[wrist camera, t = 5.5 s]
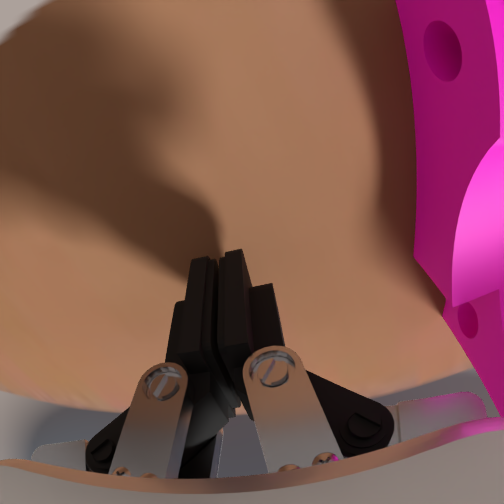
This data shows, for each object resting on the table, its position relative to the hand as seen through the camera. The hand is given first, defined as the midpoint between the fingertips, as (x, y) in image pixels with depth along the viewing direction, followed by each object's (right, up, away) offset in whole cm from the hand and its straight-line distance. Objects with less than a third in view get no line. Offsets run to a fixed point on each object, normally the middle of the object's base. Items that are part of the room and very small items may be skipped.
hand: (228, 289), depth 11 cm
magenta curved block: (+10, +4, 0) cm, 11 cm away
